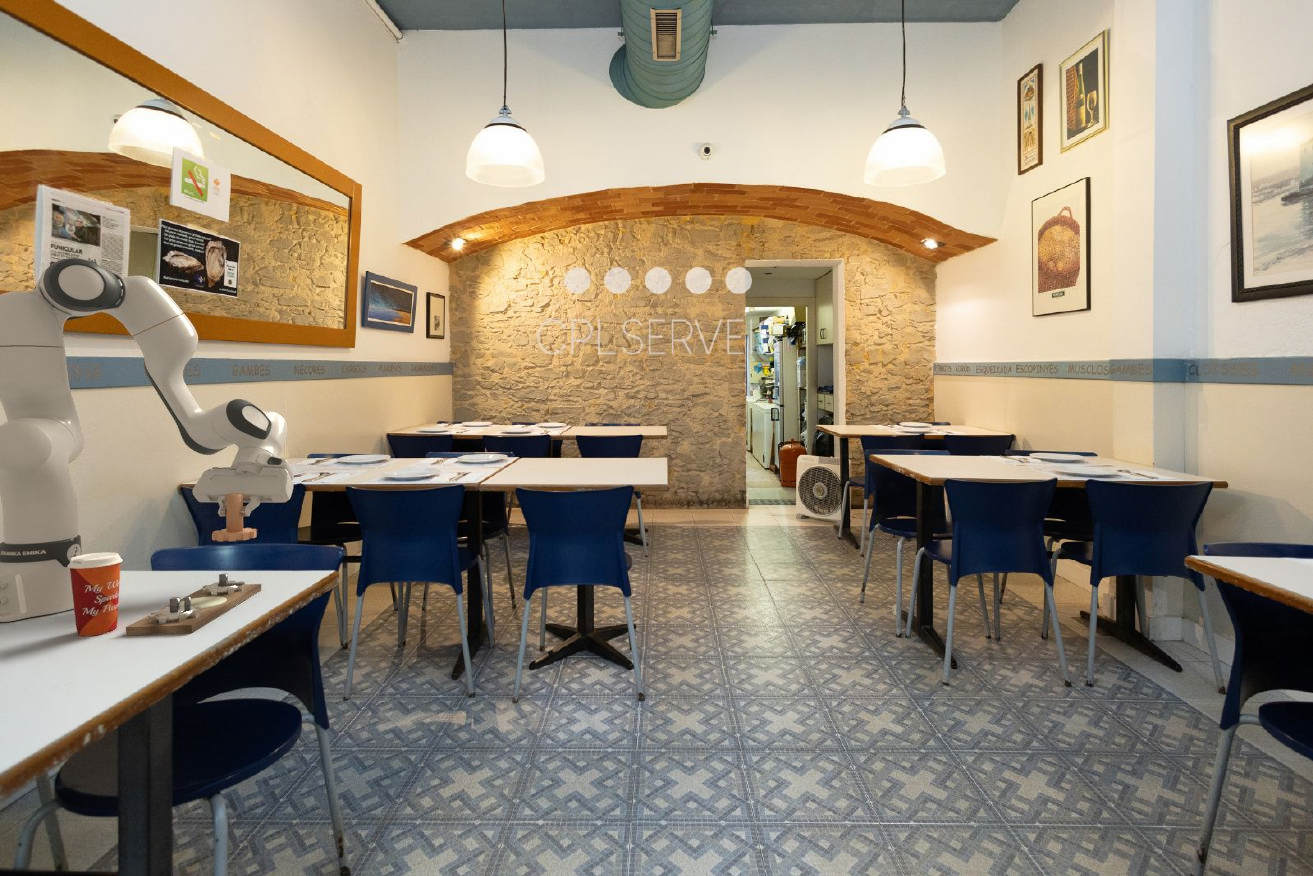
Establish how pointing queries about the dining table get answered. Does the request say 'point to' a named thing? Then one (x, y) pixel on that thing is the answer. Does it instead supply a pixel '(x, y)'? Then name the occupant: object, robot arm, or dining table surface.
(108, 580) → the paper cup
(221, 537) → the idler gear
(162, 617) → the gear
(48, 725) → the dining table surface
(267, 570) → the dining table surface
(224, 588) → the gear
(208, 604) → the gear board
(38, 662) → the dining table surface
